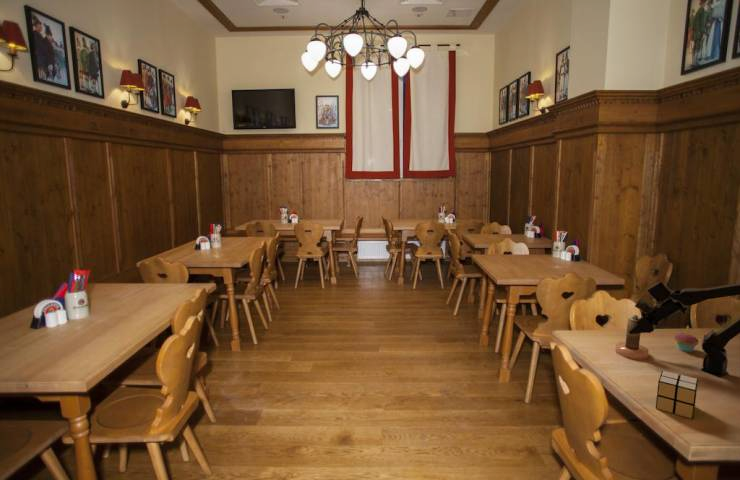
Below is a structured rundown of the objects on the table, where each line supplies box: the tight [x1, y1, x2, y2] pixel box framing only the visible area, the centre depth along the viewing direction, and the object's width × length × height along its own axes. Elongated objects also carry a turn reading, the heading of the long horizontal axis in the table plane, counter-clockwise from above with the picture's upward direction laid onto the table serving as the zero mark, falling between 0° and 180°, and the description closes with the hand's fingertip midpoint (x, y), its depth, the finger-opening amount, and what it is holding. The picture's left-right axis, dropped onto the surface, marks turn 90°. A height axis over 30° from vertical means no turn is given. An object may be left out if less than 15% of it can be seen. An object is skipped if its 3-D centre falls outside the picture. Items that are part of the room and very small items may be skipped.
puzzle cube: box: [655, 370, 699, 420], centre depth 144 cm, size 10×10×10 cm
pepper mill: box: [625, 314, 641, 350], centre depth 185 cm, size 5×5×14 cm
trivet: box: [614, 341, 649, 361], centre depth 187 cm, size 12×12×3 cm
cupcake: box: [674, 325, 699, 353], centre depth 189 cm, size 9×8×12 cm
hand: (631, 329), depth 186 cm, fingers open, 9 cm apart
